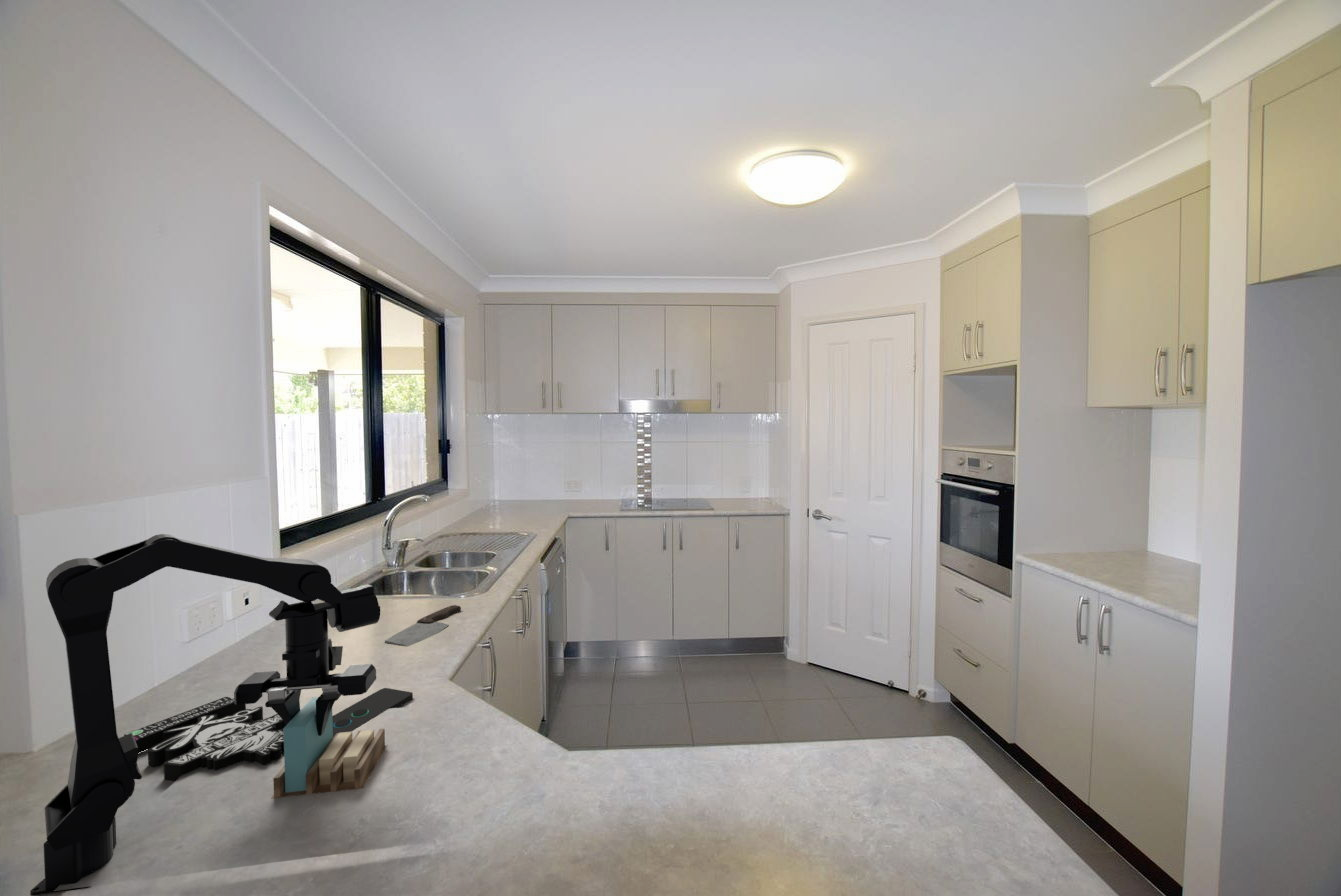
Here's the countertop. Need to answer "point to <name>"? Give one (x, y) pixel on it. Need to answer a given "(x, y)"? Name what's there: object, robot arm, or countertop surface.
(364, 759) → the rack
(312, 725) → the block
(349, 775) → the offcut front
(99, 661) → the robot arm
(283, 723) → the sign
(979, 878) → the countertop surface
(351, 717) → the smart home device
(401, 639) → the cleaver
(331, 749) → the block
